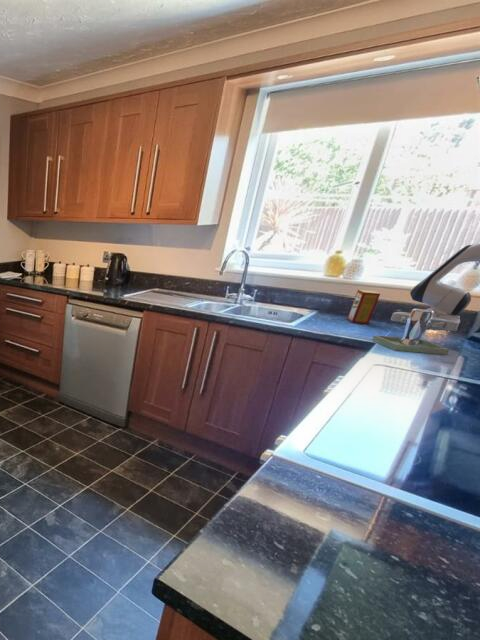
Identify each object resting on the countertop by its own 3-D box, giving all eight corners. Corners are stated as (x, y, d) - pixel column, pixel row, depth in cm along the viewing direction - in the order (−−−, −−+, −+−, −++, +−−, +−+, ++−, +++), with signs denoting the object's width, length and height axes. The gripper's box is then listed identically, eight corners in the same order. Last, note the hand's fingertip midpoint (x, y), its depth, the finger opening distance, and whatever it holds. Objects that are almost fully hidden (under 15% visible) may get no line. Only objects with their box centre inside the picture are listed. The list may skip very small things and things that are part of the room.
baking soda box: (346, 318, 228) (358, 289, 222) (362, 320, 225) (374, 290, 219) (352, 322, 220) (363, 291, 214) (368, 324, 218) (380, 293, 212)
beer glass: (424, 347, 176) (440, 312, 170) (407, 347, 176) (423, 311, 170) (408, 343, 183) (423, 308, 177) (392, 342, 183) (407, 308, 177)
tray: (419, 344, 184) (422, 339, 184) (446, 354, 170) (449, 349, 170) (372, 340, 188) (374, 335, 188) (394, 350, 174) (397, 344, 174)
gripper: (399, 307, 190) (389, 310, 183) (465, 317, 174) (457, 320, 167) (393, 321, 192) (383, 324, 185) (458, 331, 176) (449, 336, 169)
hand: (419, 322), depth 176 cm, fingers open, 8 cm apart
